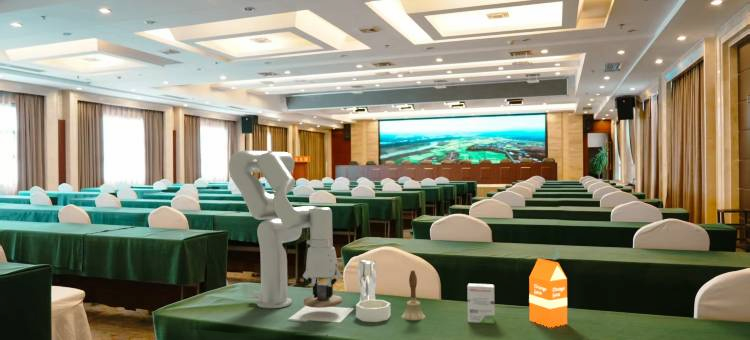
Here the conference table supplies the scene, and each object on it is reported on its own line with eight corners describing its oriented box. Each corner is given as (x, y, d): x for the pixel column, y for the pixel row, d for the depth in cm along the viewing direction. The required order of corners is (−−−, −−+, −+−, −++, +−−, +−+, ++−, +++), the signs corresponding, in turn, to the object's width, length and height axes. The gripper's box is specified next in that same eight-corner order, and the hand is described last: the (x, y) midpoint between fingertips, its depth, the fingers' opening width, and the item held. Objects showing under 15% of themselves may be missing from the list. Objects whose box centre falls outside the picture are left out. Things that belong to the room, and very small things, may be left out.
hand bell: (427, 321, 168) (427, 273, 167) (402, 322, 167) (402, 273, 167) (423, 314, 176) (423, 267, 175) (399, 315, 175) (399, 268, 175)
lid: (297, 306, 171) (297, 288, 171) (312, 296, 184) (311, 279, 184) (334, 308, 168) (334, 290, 168) (347, 298, 180) (346, 281, 180)
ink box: (494, 319, 169) (494, 283, 169) (494, 324, 165) (494, 287, 164) (468, 317, 171) (468, 282, 171) (467, 322, 167) (467, 286, 166)
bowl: (353, 322, 168) (353, 307, 168) (362, 313, 178) (361, 298, 178) (385, 325, 165) (385, 309, 165) (392, 315, 176) (392, 300, 175)
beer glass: (378, 299, 195) (377, 260, 195) (376, 304, 188) (375, 263, 188) (359, 299, 196) (359, 259, 195) (357, 304, 189) (356, 263, 188)
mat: (288, 320, 170) (288, 318, 170) (306, 307, 186) (306, 305, 186) (340, 324, 166) (340, 322, 166) (354, 309, 182) (354, 308, 182)
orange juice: (549, 328, 160) (549, 264, 160) (529, 320, 168) (528, 259, 167) (567, 324, 164) (567, 261, 163) (546, 316, 171) (546, 256, 171)
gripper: (294, 245, 174) (295, 299, 174) (341, 245, 170) (342, 301, 170) (302, 241, 181) (304, 293, 181) (348, 242, 177) (349, 295, 177)
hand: (322, 296), depth 176 cm, fingers closed on lid, 4 cm apart
